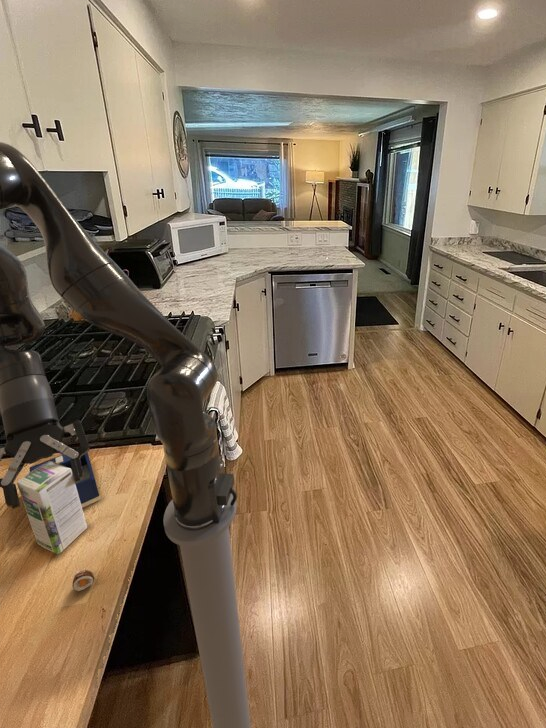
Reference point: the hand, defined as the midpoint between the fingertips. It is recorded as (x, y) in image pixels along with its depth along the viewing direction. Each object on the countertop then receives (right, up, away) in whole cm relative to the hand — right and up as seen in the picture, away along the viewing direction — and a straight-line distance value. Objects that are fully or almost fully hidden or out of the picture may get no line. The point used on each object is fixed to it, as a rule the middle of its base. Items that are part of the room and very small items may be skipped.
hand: (48, 493), depth 61 cm
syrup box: (-1, -10, +5) cm, 12 cm away
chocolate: (+8, -13, -3) cm, 16 cm away
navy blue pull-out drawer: (-6, -7, +13) cm, 16 cm away
